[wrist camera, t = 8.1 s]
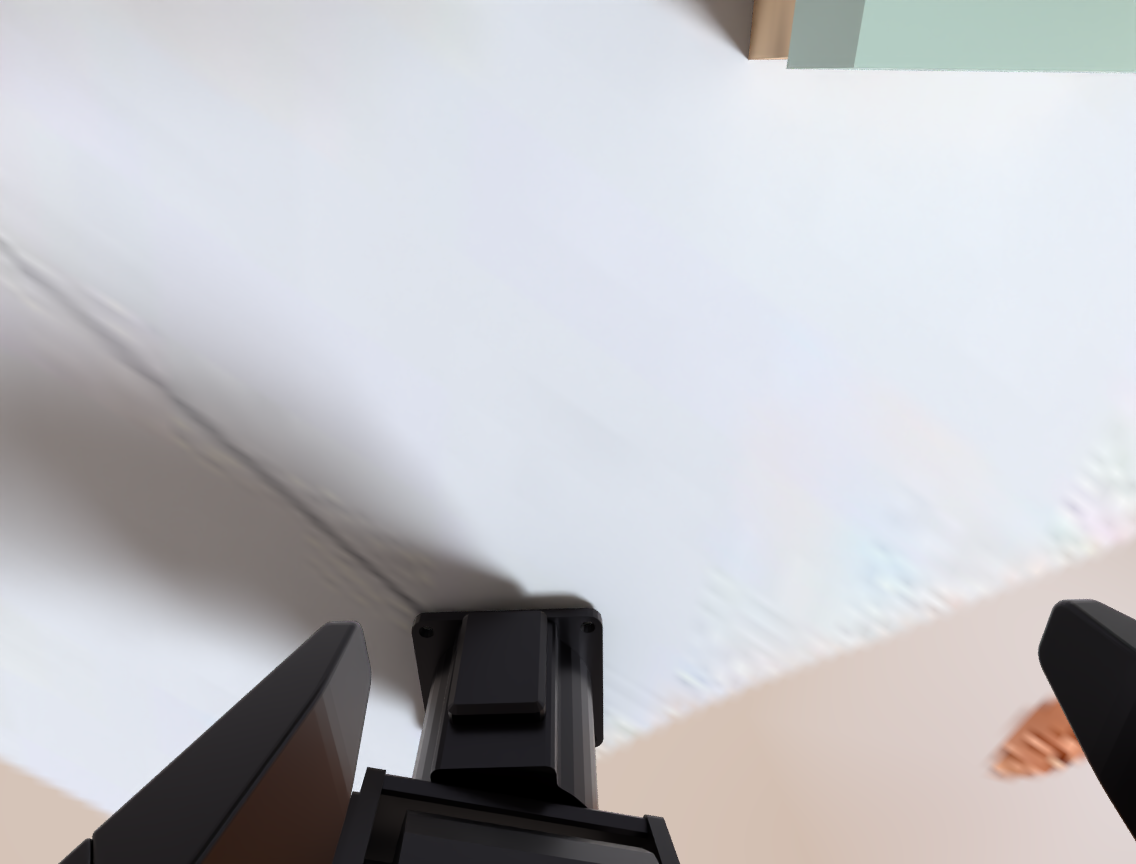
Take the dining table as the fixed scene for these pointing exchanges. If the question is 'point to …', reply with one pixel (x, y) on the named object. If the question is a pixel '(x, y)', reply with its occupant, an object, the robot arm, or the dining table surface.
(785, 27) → the oak block
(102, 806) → the dining table surface
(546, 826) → the robot arm
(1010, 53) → the teal cap block
